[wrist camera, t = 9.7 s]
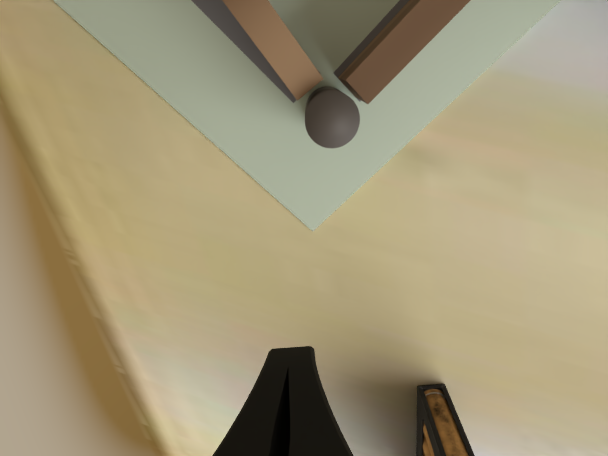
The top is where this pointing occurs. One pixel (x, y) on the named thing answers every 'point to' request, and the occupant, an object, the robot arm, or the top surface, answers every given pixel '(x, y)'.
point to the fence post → (375, 69)
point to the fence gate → (276, 44)
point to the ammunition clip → (439, 424)
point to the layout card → (291, 113)
